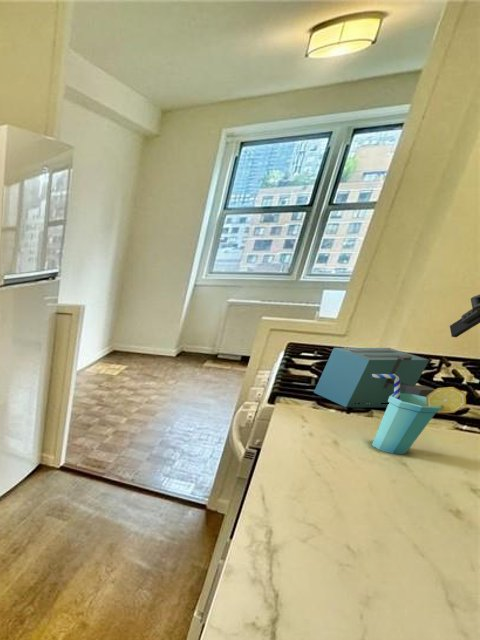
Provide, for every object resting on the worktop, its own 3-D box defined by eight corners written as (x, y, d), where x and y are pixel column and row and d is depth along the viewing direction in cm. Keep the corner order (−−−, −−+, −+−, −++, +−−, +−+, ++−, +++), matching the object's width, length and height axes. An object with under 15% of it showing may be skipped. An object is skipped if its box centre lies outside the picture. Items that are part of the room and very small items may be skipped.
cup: (342, 445, 99) (377, 376, 92) (336, 432, 105) (369, 366, 98) (436, 464, 93) (482, 391, 86) (424, 448, 98) (466, 378, 91)
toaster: (366, 392, 126) (391, 343, 120) (409, 410, 116) (438, 357, 110) (313, 392, 126) (335, 343, 120) (351, 410, 116) (377, 357, 110)
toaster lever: (394, 384, 114) (399, 376, 113) (432, 398, 107) (437, 390, 106) (379, 384, 114) (384, 376, 113) (416, 398, 107) (421, 390, 106)
